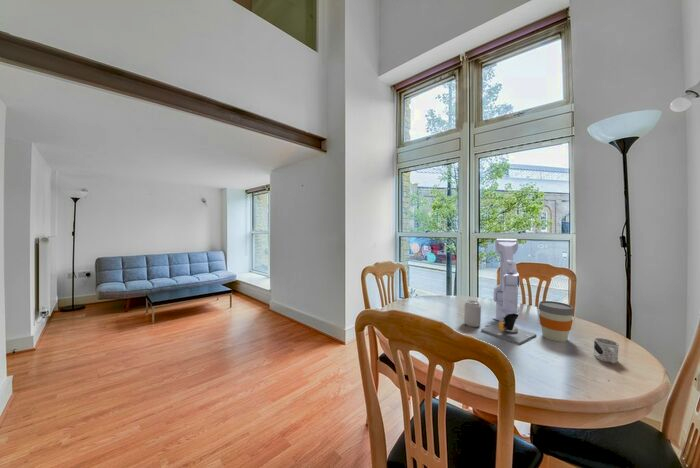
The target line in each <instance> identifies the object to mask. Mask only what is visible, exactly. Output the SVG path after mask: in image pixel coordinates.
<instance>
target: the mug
mask: <svg viewBox="0 0 700 468" xmlns="http://www.w3.org/2000/svg"><path fill="white" fill-rule="evenodd" d="M593 342H594V343H593V357H594V358H595V359H597V360H600V361H602V360H603V361H602V362H605V361H607V362H606V363H609V362H611V363H610V364H616V363H615V362H617V363H619V343H618V342H617V341H614V340H611V339H607V338H603V337H595V338H594V341H593Z"/></svg>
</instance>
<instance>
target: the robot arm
mask: <svg viewBox="0 0 700 468" xmlns="http://www.w3.org/2000/svg"><path fill="white" fill-rule="evenodd" d="M494 247H495V253H496V254H498V256H499V260H500V261H499V263H500V266H499V284H497V285H496V286H494V288H493V301H494V302H495V306H496V307H495V316H493V317H492V319H493V320H496V321H498V322H500V321H505V324H506V328H507V329H509V330H513V327H514V326H515V323H516V321H517V319H518V317H519V314H518V313H519V312H520V307H519V306H518V300H519V287H520V284H521V280H520V275H519V272H518V269H517V264H516V263H517V262H515V261H514V255H515V254H516V253H517V251H518V249H519V240H518V239H517V238H495V245H494Z"/></svg>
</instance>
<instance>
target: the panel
mask: <svg viewBox="0 0 700 468" xmlns="http://www.w3.org/2000/svg"><path fill="white" fill-rule="evenodd" d="M499 322H500V321H498V322H496V323H494V324H490V325H489V326H486V327H483V328H481V329H480V332H482V333H485V334H487V335H490V336H493V337H495V338H499V339H501V340H504V341H508V342H510V343H514V344H516V345H518V346H521V345H522V344H524V343H526V342H528V341H530V340H532V339H534V338H536V337H537V333H533V332H530V331H527V330H524V329H521V328H518V332H517V333H508V332H505V331H501V330H499Z"/></svg>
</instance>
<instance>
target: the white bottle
mask: <svg viewBox="0 0 700 468" xmlns="http://www.w3.org/2000/svg"><path fill="white" fill-rule="evenodd" d="M481 308H482V305H481V304H480V302H479V301H477V300H466V302H465V303H464V317H463V318H464V324H465V325H466V326H468V327H471V328H477V327H479V326H481V320H482V319H481V317H482V315H481V314H482V311H481V310H482V309H481Z"/></svg>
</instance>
